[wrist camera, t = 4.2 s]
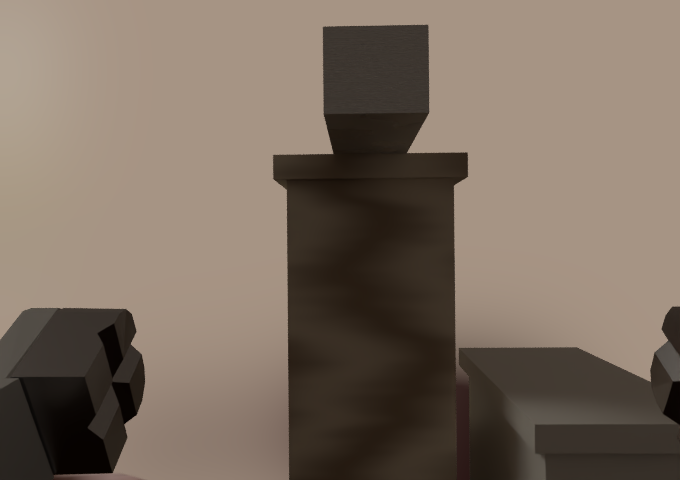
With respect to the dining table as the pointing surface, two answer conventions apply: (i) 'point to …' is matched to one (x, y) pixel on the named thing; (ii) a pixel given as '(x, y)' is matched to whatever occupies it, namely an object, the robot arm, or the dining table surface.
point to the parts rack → (564, 418)
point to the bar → (375, 87)
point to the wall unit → (371, 314)
